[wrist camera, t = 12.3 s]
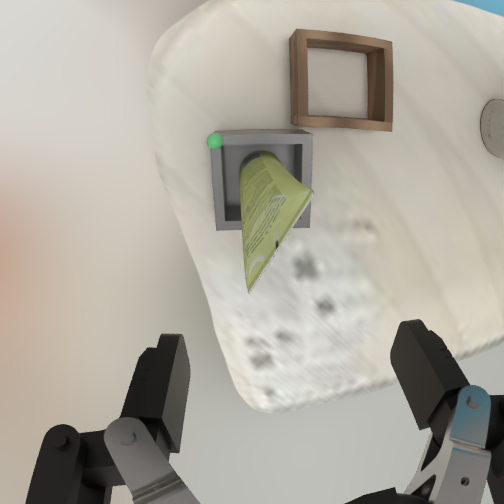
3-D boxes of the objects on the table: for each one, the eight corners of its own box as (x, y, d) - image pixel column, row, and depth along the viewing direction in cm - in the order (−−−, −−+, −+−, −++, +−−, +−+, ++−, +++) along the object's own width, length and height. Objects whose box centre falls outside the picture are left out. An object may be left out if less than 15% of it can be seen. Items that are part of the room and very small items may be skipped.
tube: (287, 191, 36) (327, 278, 19) (245, 200, 37) (247, 295, 19) (277, 145, 34) (315, 192, 16) (234, 154, 34) (223, 211, 17)
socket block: (301, 127, 34) (314, 132, 28) (300, 209, 38) (311, 231, 32) (212, 128, 34) (205, 134, 27) (217, 211, 38) (212, 234, 32)
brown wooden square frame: (374, 47, 29) (392, 41, 24) (374, 127, 34) (391, 131, 29) (289, 38, 29) (296, 29, 24) (290, 123, 34) (298, 126, 29)
